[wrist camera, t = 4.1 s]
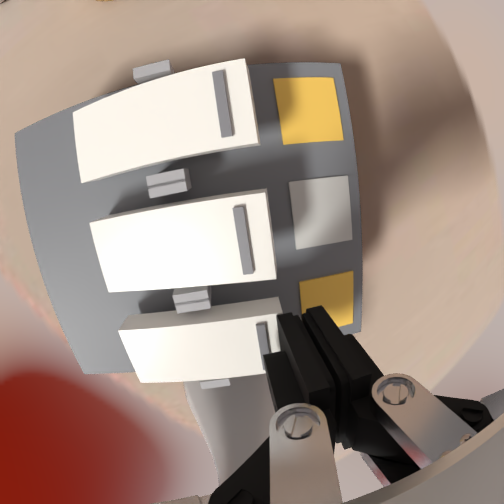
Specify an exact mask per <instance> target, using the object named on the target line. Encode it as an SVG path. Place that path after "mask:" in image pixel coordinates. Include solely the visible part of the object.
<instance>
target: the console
mask: <svg viewBox="0 0 504 504" xmlns="http://www.w3.org/2000/svg"><path fill="white" fill-rule="evenodd" d="M247 66H248V69H249V74H250V80H251V86H252V92H253V99H254V105H255V111H256V118H257V124H258V131H259V137H260V144H261V145H259V146H252V147H245V148H238V149H232V150H226V151H220V152H214V153H209V154H204V155H198V156H193V157H188V158H184V159H179V160H174V161H170V162H165V163H161V164H157V165H153V166H148V167H144V168H140V169H137V170H133V171H129V172H125V173H122V174H118V175H114V176H111V177H107V178H104V179H101V180H96V181H90V182H85V183H81V178H80V172H79V166H78V159H77V151H76V143H75V133H74V122H73V112H75V111H77V110H79V109H81V108H83V107H85V106H87V105H90V104H92V103H94V102H96V101H99V100H101V99H103V98H106V97H108V96H111V95H113V94H116V93H118V92H121V91H123V90H126V89H129V88H132V87H134V86H137V85H134V86H131V87H127V88H124V89H121V90H117V91H114V92H111V93H108V94H105V95H102V96H99V97H96V98H93V99H91V100H88V101H85V102H82V103H80V104H77V105H75V106H72V107H70V108H67V109H65V110H62V111H60V112H58V113H56V114H53V115H51V116H49V117H47V118H44V119H42V120H40V121H38V122H36V123H34V124H32V125H30V126H28V127H26V128H24V129H22V130H20V131H18V132H17V133H15V146H16V157H17V166H18V174H19V182H20V188H21V194H22V200H23V205H24V210H25V215H26V220H27V224H28V228H29V233H30V237H31V241H32V244H33V248H34V252H35V255H36V259H37V262H38V265H39V268H40V272H41V275H42V278H43V281H44V284H45V286H46V289H47V292H48V295H49V298H50V300H51V303H52V305H53V308H54V310H55V313H56V315H57V318H58V320H59V323H60V325H61V327H62V330H63V332H64V334H65V336H66V338H67V341H68V343H69V345H70V347H71V349H72V351H73V353H74V355H75V357H76V359H77V361H78V363H79V365H80V367H81V369H82V371H83V372H84V374H103V373H125V372H136V371H135V369H134V367H133V365H132V362H131V360H130V358H129V356H128V353H127V351H126V349H125V346H124V344H123V342H122V339H121V337H120V334H119V332H118V330H119V329H120V327H121V326H122V324H123V322H124V321H125V319H126V318H127V316H128V315H136V314H146V313H156V312H166V311H175V310H177V314H178V313H185V312H191V311H198V310H204V309H210V308H211V306H216V305H224V304H231V303H239V302H246V301H253V300H259V299H266V298H273V297H278V298H279V301H280V305H281V308H282V312H283V314H285V313H289V312H292V314H293V316H294V315H299V317H300V319H301V321H302V318H301V315H302V314H303V313H306V309H307V308H312V307H316V306H320V305H322V306H323V307H324V309H325V310H326V311H327V313H328V314H329V315H330V317H331V318H332V319H333V321H334V322H335V324H336V325H337V326H338V328H339V329H340V330H341V332H342V333H343V334H344V335H347V334H354V333H358V332H361V317H362V229H361V209H360V195H359V183H358V172H357V162H356V154H355V145H354V138H353V131H352V124H351V117H350V111H349V105H348V99H347V94H346V88H345V83H344V78H343V73H342V69H341V64H340V63H315V62H293V63H267V64H253V65H247ZM172 74H175V72H174V70H173V68H172V65H171V63H170V61H169V60H165V61H160V62H156V63H152V64H148V65H144V66H140V67H137V68H133V78H134V80H135V81H136V82H137V83H138V85H140V84H143V83H146V82H149V81H152V80H155V79H158V78H162V77H165V76H168V75H172ZM266 188H267V193H268V201H269V208H270V216H271V223H272V231H273V239H274V247H275V255H276V263H277V275H276V279H272V280H262V281H252V282H241V283H230V284H219V285H207V286H195V287H182V288H169V289H155V290H140V291H124V292H108V288H107V285H106V282H105V279H104V276H103V272H102V269H101V266H100V262H99V259H98V255H97V252H96V248H95V244H94V240H93V236H92V232H91V228H90V224H89V223H90V222H93V221H95V220H98V219H100V218H102V217H105V216H108V215H112V214H117V213H122V212H126V211H131V210H136V209H141V208H146V207H151V206H157V205H162V204H168V203H173V202H179V201H185V200H191V199H197V198H203V197H209V196H215V195H222V194H229V193H236V192H243V191H250V190H258V189H266ZM199 383H200V385H201V388H202V389H208V388H216V387H223V386H230V378H222V379H211V380H200V382H199Z"/></svg>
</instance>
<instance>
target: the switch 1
mask: <svg viewBox="0 0 504 504" xmlns="http://www.w3.org/2000/svg"><path fill="white" fill-rule="evenodd" d="M73 122H74V133H75V143H76V151H77V159H78V166H79V172H80V178H81V183H85V182H90V181H96V180H101V179H104V178H107V177H111V176H114V175H118V174H122V173H125V172H129V171H133V170H137V169H140V168H144V167H148V166H153V165H157V164H161V163H165V162H170V161H174V160H179V159H184V158H188V157H193V156H198V155H204V154H209V153H214V152H220V151H226V150H232V149H238V148H245V147H252V146H259V145H261V144H260V137H259V131H258V124H257V118H256V111H255V105H254V99H253V92H252V86H251V80H250V74H249V69H248V66H247V63H246V61H245V58H244V59H238V60H232V61H227V62H221V63H217V64H212V65H207V66H203V67H199V68H194V69H190V70H186V71H183V72H179V73H175V74H172V75H168V76H165V77H162V78H158V79H155V80H152V81H149V82H146V83H143V84H140V85H137V86H134V87H132V88H129V89H126V90H123V91H121V92H118V93H116V94H113V95H111V96H108V97H106V98H103V99H101V100H99V101H96V102H94V103H92V104H90V105H87V106H85V107H83V108H81V109H79V110H77V111H75V112H73Z"/></svg>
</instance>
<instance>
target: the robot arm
mask: <svg viewBox="0 0 504 504" xmlns="http://www.w3.org/2000/svg"><path fill="white" fill-rule="evenodd" d="M301 318H302V321H301V319H300V317H299V315H294V316H293V314H292V312H289V313H285V314H280V315H276V319H277V327H278V334H279V342H280V349H281V351H279V352H274V353H269V354H264V355H263V360H264V366H265V371H266V377H267V381H268V386H269V390H270V394H271V398H272V402H273V406H274V410H275V414H274V415H273V417H272V418H271V420H270V425H269V437H268V438H267V439H266V440H265V441H264V442H263V443H262V444H261V445H260V447H259V448H258V449H257V450H256V451H255V452H254V453H253V454H252V455H251V456H250V457H249V458H248V459H247V460H246V461H245V462H244V463H243V464H242V465H241V466H240V467H239V468H238V469H237V470H236V471H235V472H234V473H233V474H232V475H231V476H230V477H229V478H228V479H226V480H225V481H224V482H223V483H222V484H221V485H220V486H219V487H218V488H217V489H216V490H215V491H214V492H213V493H212V494H210V495H207V496H202V497H199V496H198V495H195V496H191V497H186V498H181V499H176V500H171V501H165V502H160V503H153V504H504V389H502V390H500V391H498V392H495V393H493V394H491V395H488V396H486V397H484V398H482V399H481V401H480V402H479V401H474V400H468V399H459V398H451V397H444V396H437V395H433V394H432V393H430V392H429V391H428V390H427V389H426V388H425V387H423V386H422V385H421V384H420V383H419V382H418V381H416V380H415V379H414V378H412V377H411V376H408V375H405V374H398V373H394V374H388V375H385V376H384V375H383V374H382V372H381V371H380V370H379V368H378V367H377V366H376V364H375V363H374V362H373V360H372V359H371V358H370V357H369V355H368V354H367V353H366V351H365V350H364V349H363V348H362V346H361V345H360V344H359V342H358V341H357V340H356V339H355V337H354V336H353V335H352V334H347V335H344V334H343V333H342V332H341V330H340V329H339V328H338V326H337V325H336V324H335V322H334V321H333V319H332V318H331V317H330V315H329V314H328V313H327V311H326V310H325V309H324V307H323V306H322V305H320V306H316V307H312V308H307V309H306V313H303V314H302V315H301ZM335 442H336V443H340V442H341V443H342V445H343V448H344V450H345V449H348V448H351V447H352V449H353V450H355V451H359V452H360V454H361V456H362V458H363V460H364V461H365V462H366V464H367V465H368V466H369V468H370V469H371V470H372V472H373V473H374V474H375V476H376V477H377V478H378V480H379V481H380V482H381V484H382V485H383V486H384V488H381V489H379V490H377V491H374V492H372V493H369V494H366V495H364V496H361V497H358V498H356V499H353V500H350V501H348V502H344V503H343V502H342V497H341V492H340V486H339V480H338V475H337V470H336V465H335V459H334V449H335Z"/></svg>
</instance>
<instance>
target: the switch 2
mask: <svg viewBox="0 0 504 504" xmlns="http://www.w3.org/2000/svg"><path fill="white" fill-rule="evenodd" d="M89 224H90V228H91V232H92V236H93V240H94V244H95V248H96V252H97V255H98V259H99V262H100V266H101V269H102V272H103V276H104V279H105V282H106V285H107V288H108V292H124V291H140V290H155V289H169V288H182V287H195V286H207V285H219V284H230V283H241V282H252V281H262V280H272V279H276V275H277V263H276V255H275V247H274V239H273V231H272V223H271V216H270V208H269V201H268V193H267V188H266V189H258V190H250V191H243V192H236V193H229V194H222V195H215V196H209V197H203V198H197V199H191V200H185V201H179V202H173V203H168V204H162V205H157V206H151V207H146V208H141V209H136V210H131V211H126V212H122V213H117V214H112V215H108V216H105V217H102V218H100V219H98V220H95V221H93V222H90V223H89Z"/></svg>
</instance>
